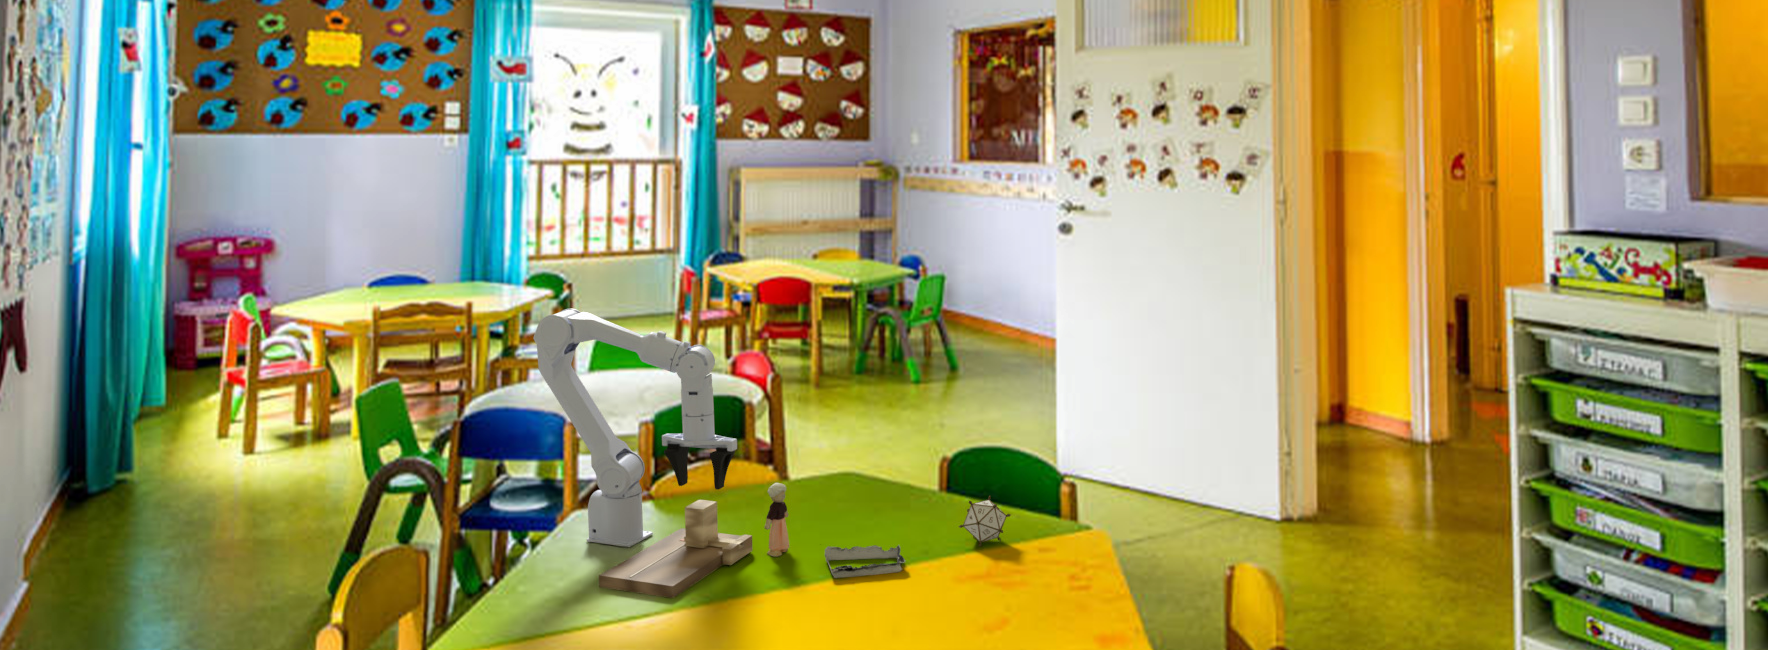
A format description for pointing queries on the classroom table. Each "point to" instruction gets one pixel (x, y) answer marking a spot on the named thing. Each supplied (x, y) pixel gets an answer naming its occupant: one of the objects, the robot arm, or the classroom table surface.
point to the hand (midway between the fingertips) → (701, 486)
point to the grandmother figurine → (777, 521)
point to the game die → (984, 520)
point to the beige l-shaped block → (712, 532)
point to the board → (665, 567)
